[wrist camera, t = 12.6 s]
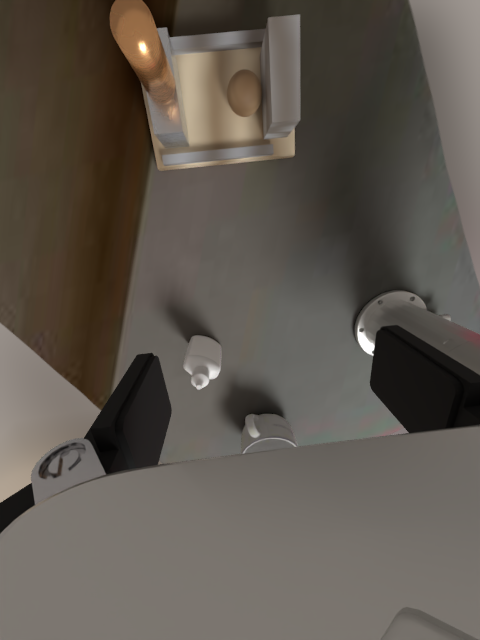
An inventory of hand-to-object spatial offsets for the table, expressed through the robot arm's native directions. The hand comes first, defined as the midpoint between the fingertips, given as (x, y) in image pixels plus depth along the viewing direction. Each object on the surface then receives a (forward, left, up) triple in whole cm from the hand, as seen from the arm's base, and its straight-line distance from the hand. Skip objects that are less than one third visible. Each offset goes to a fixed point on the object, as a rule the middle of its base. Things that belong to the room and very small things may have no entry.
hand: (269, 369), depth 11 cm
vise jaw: (+6, -19, -29) cm, 35 cm away
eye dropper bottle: (+7, +14, -31) cm, 34 cm away
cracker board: (0, -19, -30) cm, 36 cm away
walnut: (-2, -19, -29) cm, 35 cm away
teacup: (-2, +33, -31) cm, 45 cm away
